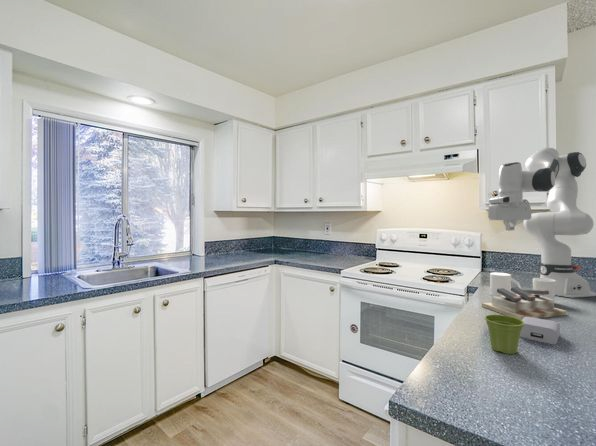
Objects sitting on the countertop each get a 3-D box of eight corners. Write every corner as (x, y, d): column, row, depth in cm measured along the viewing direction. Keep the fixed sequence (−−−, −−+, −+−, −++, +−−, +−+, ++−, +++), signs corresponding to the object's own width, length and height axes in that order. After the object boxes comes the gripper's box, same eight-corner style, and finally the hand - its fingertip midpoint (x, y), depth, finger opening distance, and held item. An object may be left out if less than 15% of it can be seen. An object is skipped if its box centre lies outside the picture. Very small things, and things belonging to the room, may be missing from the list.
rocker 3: (529, 292, 128) (528, 289, 128) (549, 294, 120) (548, 290, 120) (523, 293, 127) (523, 289, 127) (543, 294, 119) (542, 290, 119)
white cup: (560, 305, 128) (560, 281, 128) (538, 304, 129) (538, 281, 129) (548, 300, 136) (549, 277, 135) (528, 299, 137) (528, 277, 137)
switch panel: (523, 302, 133) (523, 289, 133) (566, 314, 116) (566, 299, 116) (481, 306, 127) (481, 293, 127) (520, 320, 111) (520, 304, 111)
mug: (491, 271, 149) (521, 274, 142) (491, 292, 150) (521, 296, 142) (489, 274, 143) (520, 277, 135) (489, 296, 143) (520, 300, 136)
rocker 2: (516, 289, 126) (517, 286, 125) (535, 300, 118) (536, 296, 118) (510, 290, 125) (511, 287, 125) (528, 300, 118) (529, 297, 117)
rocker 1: (502, 291, 124) (503, 288, 124) (520, 301, 117) (521, 297, 116) (496, 291, 123) (497, 288, 123) (514, 301, 116) (515, 298, 115)
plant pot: (477, 342, 92) (477, 314, 92) (509, 342, 92) (509, 314, 92) (497, 357, 83) (497, 325, 83) (532, 357, 82) (533, 325, 82)
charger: (561, 331, 100) (556, 345, 90) (526, 324, 107) (518, 337, 96) (561, 317, 100) (556, 329, 90) (526, 311, 107) (518, 322, 96)
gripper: (522, 199, 141) (521, 229, 141) (485, 199, 136) (485, 230, 136) (535, 198, 135) (535, 230, 135) (498, 198, 130) (497, 231, 130)
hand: (510, 230), depth 136 cm, fingers closed
